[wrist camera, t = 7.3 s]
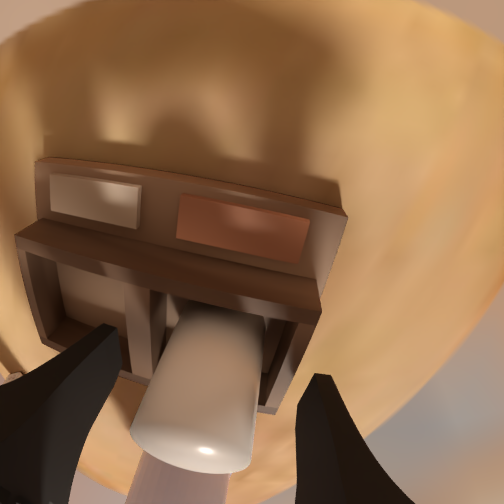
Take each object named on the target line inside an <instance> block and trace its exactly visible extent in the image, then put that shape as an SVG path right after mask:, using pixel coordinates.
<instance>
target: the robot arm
mask: <svg viewBox="0 0 504 504" xmlns="http://www.w3.org/2000/svg"><path fill="white" fill-rule="evenodd" d="M122 364H123V363H122V357H121V350H120V344H119V337H118V329H117V327H114V326H111V325H108V324H105V323H103V324H101V325H100V326H98V327H97V328H95V329H94V330H92V331H91V332H90V333H88V334H87V335H85V336H84V337H83V338H81V339H80V340H78V341H77V342H76V343H74V344H73V345H71V346H70V347H69V348H67V349H66V350H64V351H63V352H61V353H60V354H58V355H57V356H55V357H54V358H52V359H51V360H49V361H47V362H46V363H44V364H43V365H41V366H39V367H38V368H36V369H34V370H32V371H31V372H29V373H27V374H25V375H23V376H21V377H19V378H17V379H15V380H13V381H10V382H8V383H5V384H3V385H1V386H0V504H68V502H69V496H70V491H71V486H72V482H73V478H74V474H75V471H76V467H77V464H78V461H79V458H80V455H81V452H82V449H83V446H84V443H85V441H86V438H87V436H88V433H89V431H90V429H91V427H92V425H93V423H94V421H95V420H96V418H97V416H98V414H99V412H100V410H101V409H102V407H103V405H104V403H105V401H106V399H107V398H108V396H109V394H110V392H111V390H112V388H113V387H114V384H115V382H116V379H117V377H118V375H119V372H120V369H121V367H122ZM295 433H296V464H297V489H296V498H295V504H415V503H414V502H413V501H412V500H410V498H408V497H407V496H406V494H404V492H403V491H402V490H401V489H400V488H399V487H398V486H397V485H396V484H395V483H394V482H393V480H392V479H391V478H390V477H389V476H388V474H387V473H386V472H385V471H384V469H383V468H382V467H381V466H380V464H379V463H378V461H377V460H376V459H375V457H374V455H373V454H372V452H371V451H370V449H369V448H368V446H367V445H366V443H365V441H364V440H363V438H362V436H361V434H360V433H359V431H358V429H357V427H356V425H355V423H354V422H353V420H352V418H351V416H350V414H349V412H348V410H347V408H346V406H345V404H344V402H343V400H342V398H341V396H340V393H339V391H338V389H337V387H336V385H335V383H334V380H333V378H332V377H331V375H326V374H318V373H314V375H313V377H312V379H311V381H310V383H309V385H308V386H307V388H306V390H305V392H304V394H303V396H302V397H301V399H300V401H299V403H298V404H297V415H296V427H295ZM231 474H232V473H226V474H210V473H202V472H196V471H191V470H187V469H183V468H180V467H177V466H174V465H171V464H169V463H166V462H164V461H162V460H160V459H158V458H156V457H154V456H152V455H151V454H149V453H147V452H146V451H145V450H143V453H142V456H141V458H140V461H139V464H138V467H137V470H136V473H135V476H134V479H133V481H132V484H131V487H130V490H129V493H128V496H127V499H126V502H125V504H225V503H226V496H227V490H228V484H229V478H230V476H231Z"/></svg>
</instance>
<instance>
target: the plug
mask: <svg viewBox="0 0 504 504" xmlns="http://www.w3.org/2000/svg"><path fill="white" fill-rule="evenodd" d="M265 331H266V325H265V320H264V318H263V316H261V315H256V314H252V313H247V312H242V311H238V310H233V309H229V308H224V307H220V306H215V305H211V304H207V303H202V302H198V301H194V300H189V301H188V302H187V304H186V305H185V307H184V309H183V311H182V314H181V316H180V318H179V320H178V322H177V324H176V326H175V328H174V331H173V333H172V335H171V337H170V339H169V341H168V343H167V346H166V348H165V350H164V352H163V354H162V356H161V359H160V361H159V363H158V365H157V367H156V370H155V372H154V374H153V376H152V379H151V381H150V383H149V385H148V388H147V390H146V392H145V394H144V397H143V399H142V401H141V404H140V406H139V408H138V411H137V413H136V415H135V418H134V420H133V422H132V425H131V427H130V434H131V437H132V438H133V440H134V441H135V442H136V443H137V444H138V445H139V446H140V447H141V448H142V449H143V450H145V451H146V452H147V453H149V454H151V455H152V456H154V457H156V458H158V459H160V460H162V461H164V462H166V463H169V464H171V465H174V466H177V467H180V468H183V469H187V470H191V471H196V472H202V473H210V474H226V473H234V472H238V471H241V470H243V469H245V468H247V467H248V466H249V465H250V463H251V456H252V448H253V440H254V432H255V423H256V415H257V406H258V397H259V388H260V379H261V370H262V360H263V350H264V341H265Z"/></svg>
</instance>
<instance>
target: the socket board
mask: <svg viewBox="0 0 504 504" xmlns="http://www.w3.org/2000/svg"><path fill="white" fill-rule="evenodd" d="M35 190H36V207H37V219H38V221H36V222H35V223H33V224H31V225H30V226H28V227H26V228H25V229H23V230H22V231H20V232H18V233H17V234H15V241H16V247H17V253H18V258H19V263H20V268H21V273H22V277H23V281H24V285H25V289H26V293H27V297H28V301H29V304H30V308H31V311H32V315H33V318H34V321H35V324H36V327H37V330H38V333H39V336H40V339H41V342H42V344H44V345H46V346H48V347H50V348H53V349H55V350H57V351H59V352H63V351H64V350H66V349H67V348H69V347H70V346H71V345H73V344H74V343H76V342H77V341H78V340H80V339H81V338H83V337H84V336H85V335H87V334H88V333H90V332H91V331H92V330H94V329H95V328H97V327H98V326H100V325H101V324H103V323H105V324H108V325H111V326H114V327H117V329H118V337H119V344H120V350H121V357H122V363H123V364H122V367H121V369H120V372H119V375H118V376H120V377H122V378H125V379H128V380H131V381H134V382H137V383H140V384H143V385H146V386H148V385H149V383H150V381H151V379H152V376H153V374H154V372H155V370H156V367H157V365H158V363H159V361H160V359H161V356H162V354H163V352H164V350H165V348H166V346H167V343H168V341H169V339H170V337H171V335H172V333H173V331H174V328H175V326H176V324H177V322H178V320H179V318H180V316H181V314H182V311H183V309H184V307H185V305H186V304H187V302H188V301H189V300H194V301H198V302H202V303H207V304H211V305H215V306H220V307H224V308H229V309H233V310H238V311H242V312H247V313H252V314H256V315H261V316H263V318H264V320H265V325H266V331H265V341H264V350H263V360H262V370H261V379H260V388H259V397H258V406H257V412H259V413H266V414H272V415H275V414H276V412H277V410H278V408H279V406H280V404H281V402H282V400H283V398H284V396H285V394H286V392H287V390H288V388H289V385H290V383H291V381H292V379H293V377H294V375H295V373H296V371H297V368H298V366H299V364H300V362H301V360H302V357H303V355H304V353H305V351H306V349H307V346H308V344H309V342H310V339H311V337H312V335H313V332H314V330H315V328H316V325H317V323H318V320H319V318H320V316H321V313H322V308H321V303H320V297H321V295H322V292H323V289H324V287H325V284H326V281H327V279H328V276H329V273H330V270H331V267H332V265H333V262H334V259H335V256H336V253H337V250H338V247H339V244H340V241H341V238H342V235H343V232H344V229H345V226H346V223H347V220H348V216H347V215H346V213H345V212H344V210H343V209H342V208H338V207H334V206H330V205H326V204H322V203H318V202H314V201H310V200H306V199H301V198H297V197H293V196H289V195H284V194H280V193H275V192H271V191H266V190H262V189H257V188H252V187H247V186H242V185H238V184H232V183H227V182H222V181H217V180H212V179H206V178H201V177H195V176H190V175H184V174H178V173H172V172H166V171H159V170H153V169H146V168H139V167H132V166H125V165H117V164H110V163H101V162H93V161H84V160H74V159H64V158H53V157H48V158H44V159H41V160H38V161H35Z"/></svg>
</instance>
